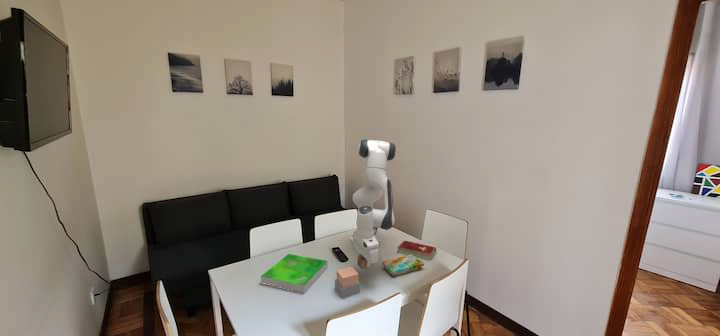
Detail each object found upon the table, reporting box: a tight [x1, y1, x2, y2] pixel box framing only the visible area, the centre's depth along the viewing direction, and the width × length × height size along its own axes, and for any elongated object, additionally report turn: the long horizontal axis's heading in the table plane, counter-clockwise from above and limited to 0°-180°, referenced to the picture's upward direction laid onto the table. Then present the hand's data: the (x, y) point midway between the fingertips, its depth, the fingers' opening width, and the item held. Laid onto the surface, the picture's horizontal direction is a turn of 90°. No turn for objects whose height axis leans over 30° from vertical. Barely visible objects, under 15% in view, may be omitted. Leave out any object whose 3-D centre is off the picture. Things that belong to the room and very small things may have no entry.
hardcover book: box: [396, 239, 437, 261], centre depth 181 cm, size 12×21×4 cm, turn 60°
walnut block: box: [356, 255, 373, 270], centre depth 152 cm, size 6×6×5 cm
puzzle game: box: [381, 254, 425, 277], centre depth 162 cm, size 12×5×20 cm
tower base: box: [334, 278, 361, 299], centre depth 143 cm, size 9×9×5 cm
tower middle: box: [335, 266, 360, 288], centre depth 142 cm, size 8×8×5 cm
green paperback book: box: [260, 253, 329, 294], centre depth 156 cm, size 25×25×5 cm
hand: (364, 263), depth 152 cm, fingers closed on walnut block, 5 cm apart
